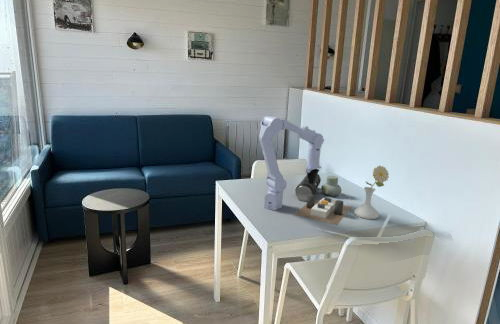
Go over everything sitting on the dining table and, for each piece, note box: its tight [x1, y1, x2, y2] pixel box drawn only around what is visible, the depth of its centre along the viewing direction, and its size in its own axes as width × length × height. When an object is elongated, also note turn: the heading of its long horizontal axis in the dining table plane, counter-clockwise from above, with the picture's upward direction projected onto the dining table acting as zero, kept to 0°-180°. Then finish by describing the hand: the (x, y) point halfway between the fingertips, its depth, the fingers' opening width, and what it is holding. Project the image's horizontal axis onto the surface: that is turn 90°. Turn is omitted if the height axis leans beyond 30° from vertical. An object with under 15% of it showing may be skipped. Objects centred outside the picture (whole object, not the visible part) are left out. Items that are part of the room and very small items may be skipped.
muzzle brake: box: [294, 173, 322, 202], centre depth 195 cm, size 10×28×10 cm
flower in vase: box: [353, 165, 390, 220], centre depth 165 cm, size 13×11×25 cm
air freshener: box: [320, 175, 342, 197], centre depth 196 cm, size 11×8×10 cm
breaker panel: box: [293, 196, 352, 226], centre depth 171 cm, size 26×20×6 cm
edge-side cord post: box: [334, 199, 344, 215], centre depth 167 cm, size 4×4×6 cm
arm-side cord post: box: [306, 194, 316, 209], centre depth 173 cm, size 4×4×6 cm
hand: (311, 183), depth 180 cm, fingers closed
